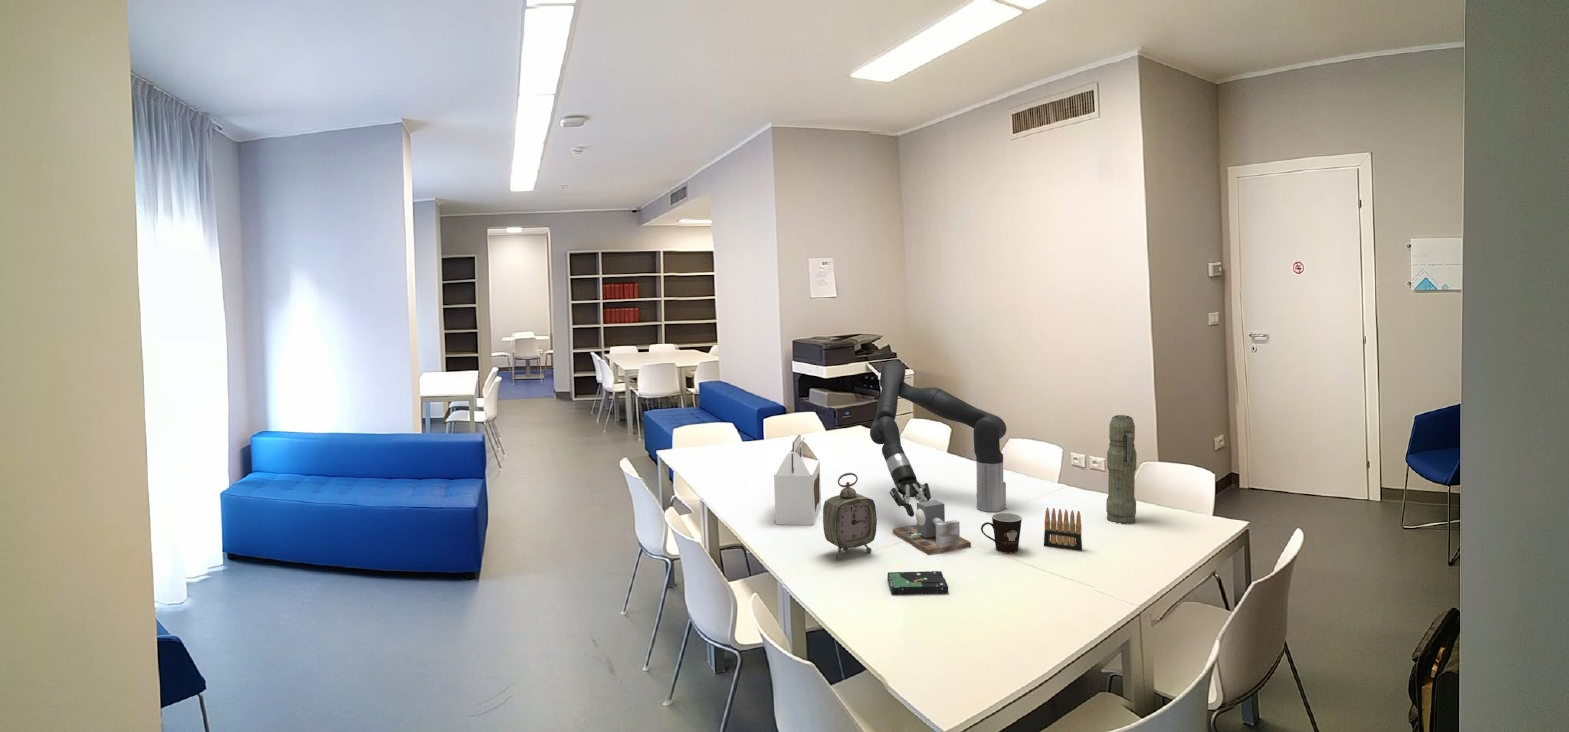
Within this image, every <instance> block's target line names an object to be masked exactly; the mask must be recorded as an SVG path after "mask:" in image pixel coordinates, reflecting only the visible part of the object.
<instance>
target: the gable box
mask: <svg viewBox="0 0 1569 732" xmlns="http://www.w3.org/2000/svg"><path fill="white" fill-rule="evenodd" d="M805 438H806V437H803V439H802V436H801V434H798V435H797V437H796V438H795V439H794V441H793V442H792V445H791V446H792V448H791V450H790V451H789V452H788V453H787V454H786V456H785V457H784V459H783V460H782V462H781V464H780V465H779V467H778V468H777V469H778V470H777V471H776V472H775V474H774V475H773V481H774V483H773V486H774V487H773V488H774V509H775V514H774V515H775V516H774V517H775V525H782V526H784V525H785V526H814V525H815V523H816V520H817V518H818V515H819V513H820V511H821V508H822V496H821V495H822V492H821V463H820V460H819V459H818V457H817V456H816V455H815V453H814V452H813V450H812V449H811V448H810V446H809V445H808V444H807V443H806V442H805Z"/></svg>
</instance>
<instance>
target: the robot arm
mask: <svg viewBox="0 0 1569 732" xmlns="http://www.w3.org/2000/svg"><path fill="white" fill-rule="evenodd" d="M905 378H906V368H905V366H904V364H903V363H902V362H900V361H898V360H888V361H886V362H885V363H884V364H883V365H882V367H881V370H880V377H879V386H880V388H881V391H880V394H879V398H878V403H877V408H876V414H875V417H874V419H873V421H872V424H871V426H870V430H869V436H870V439H871V441H872V442H873V443H875V444H876V445H882V447H881V453H882V455H883V458H884V460H885V463H886V467H887V469H888V472H889V474H890V476H891V479H892V481H893V483H894V485H895V487H891V489H890V491H889V494H890V496H891V498H892V499H893V501H894V502H895V503H896V505H897V507H900V508H901V507H903V508H904V509H905V511H906V515H908V517H910V518H913V517H914V516H915V511H914V508H913V506H912V505H911V503H910V499H911V498H914V499H915V500H916V501H917V502H924V501H930V500H932V495H931V491H930V485H929V483H928V482H925V483H924V484H923V483H920V482H919V481H918V479H917V475H916V473H915V471H914V469H913V467H912V465H911V463H910V460H909V459H908V457H907V455H906V452H905V451H904V448H903V446H902V442H901V436H900V430H899V429H900V428H899V426H898V423H897V422H896V421H895V419H896V417H897V410H898V400H899V397H900V398H901V399H905V400H906V401H909V402H911V403H913V404H914V405H917V406H918V407H921V408H923V409H924V410H927V411H928V412H930V413H932V414H934V415H935V416H938V417H940V418H942V419H945V420H949V421H951V422H952V421H953V422H957V423H960V424H963V425H965V426H966V425H967V426H969V427H970V428H971V429H973V449H974V455H975V458H976V459H975V460H976V464H975V465H976V466H975V467H976V509H978V510H979V511H983V512H988V513H996V512H1001V511H1003V510H1005V509H1007V491H1006V490H1007V483H1006V482H1005V481H1004V454H1003V453H1002V451H1001V446H1000V444H1001V443H1000V440H1001V439H1002V438H1003V437H1004V436H1005V435H1006V433H1007V425H1006V423H1005V421H1004V420H1003V419H1002V418H1001V417H1000V416H998V415H995V414H993V413H990V412H987V411H985V410H982V409H981V408H977V407H975V406H973V405H971V404H969V403H968V402H965V401H964V400H962V399H960V398H958V397H956V396H955V395H953V394H951V393H949V392H947V391H945V390H943V389H941V388H938V387H934V386H933V387H915V386H913V385H910V384H908V383H906V382H905ZM900 494H901V495H900Z"/></svg>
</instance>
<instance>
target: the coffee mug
mask: <svg viewBox="0 0 1569 732" xmlns="http://www.w3.org/2000/svg"><path fill="white" fill-rule="evenodd" d="M1022 519H1023V517H1022V516H1021V515H1020V514H1016V513H1012V512H998V513H994V514H992V515H991V520H992V522H990V521H989V522H988V521H987V522H986V521H985V522H983V523H982V525H981V527H980V530H981V531H980V532H981V533H982V534H983V535H984V536H985V537H987V538H988V539H990V540H991V541H993V542H994V543H995V550H996V551H997V552H999V553H1004V554H1015V553H1017V552H1019V547H1020V536H1021V530H1022V529H1021V528H1022ZM986 525H990V526H991V527H992V529H993V534H994V535H993V536H994V538H993V537H991V536H989V534H986V533H985V531H984V527H985V526H986Z"/></svg>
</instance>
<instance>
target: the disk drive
mask: <svg viewBox="0 0 1569 732" xmlns="http://www.w3.org/2000/svg"><path fill="white" fill-rule="evenodd" d="M887 582H888V586H889V590H890V593H891V596H907V595H908V596H909V595H910V596H911V595H915V596H916V595H948V594H949V585H948V582H947V580H946V579H945V577H944V575H943V572H942V571H941V570H932V571H927V570H926V571H892V572H891V571H890V572H887Z"/></svg>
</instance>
